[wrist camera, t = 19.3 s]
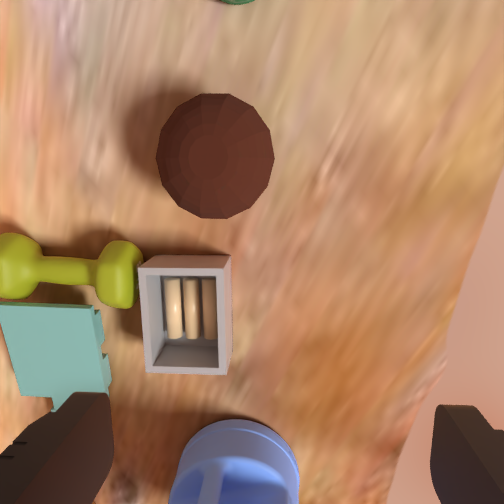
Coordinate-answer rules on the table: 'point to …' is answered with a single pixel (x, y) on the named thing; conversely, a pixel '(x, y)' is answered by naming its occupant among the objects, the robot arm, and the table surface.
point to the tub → (187, 313)
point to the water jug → (236, 467)
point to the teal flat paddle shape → (55, 349)
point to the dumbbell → (70, 270)
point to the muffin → (215, 156)
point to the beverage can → (237, 1)
